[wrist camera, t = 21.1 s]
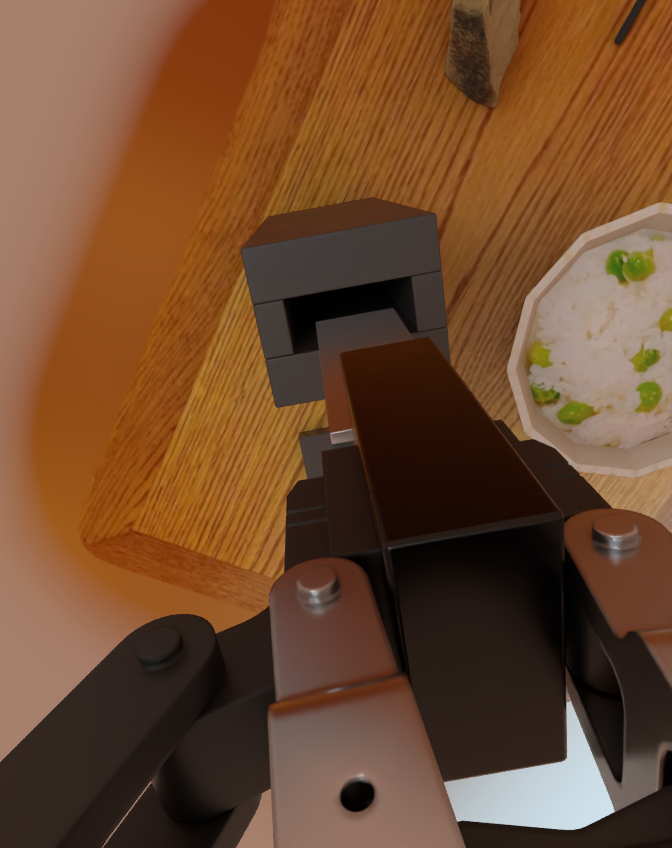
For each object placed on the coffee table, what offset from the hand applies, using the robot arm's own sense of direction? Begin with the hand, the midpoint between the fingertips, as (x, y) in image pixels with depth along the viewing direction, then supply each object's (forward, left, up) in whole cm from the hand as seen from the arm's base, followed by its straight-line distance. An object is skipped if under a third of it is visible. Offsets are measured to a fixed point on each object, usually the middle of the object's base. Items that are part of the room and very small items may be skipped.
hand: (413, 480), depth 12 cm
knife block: (0, 0, -37) cm, 37 cm away
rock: (+13, +14, -37) cm, 42 cm away
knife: (0, +1, -12) cm, 12 cm away
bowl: (+20, -9, -37) cm, 43 cm away
